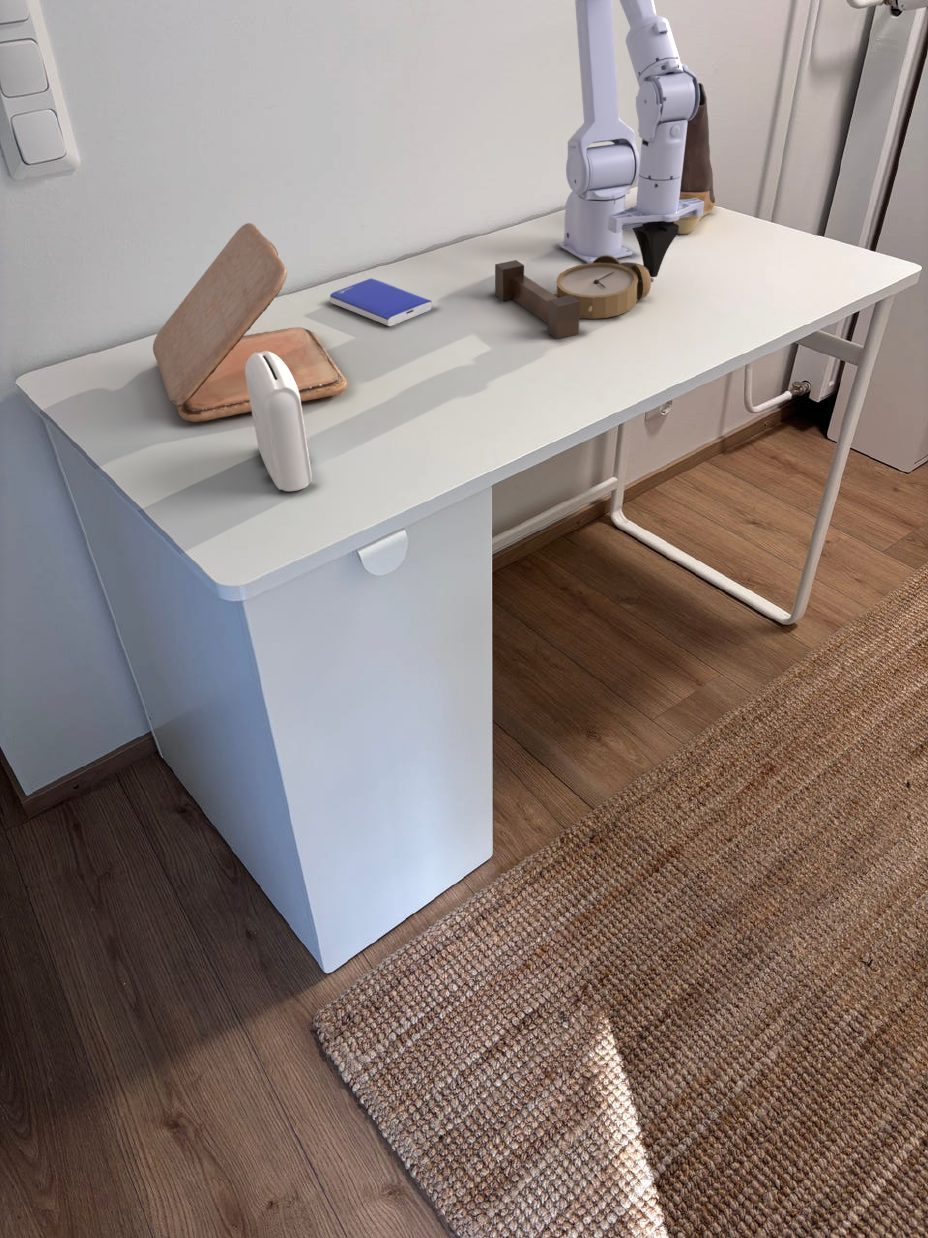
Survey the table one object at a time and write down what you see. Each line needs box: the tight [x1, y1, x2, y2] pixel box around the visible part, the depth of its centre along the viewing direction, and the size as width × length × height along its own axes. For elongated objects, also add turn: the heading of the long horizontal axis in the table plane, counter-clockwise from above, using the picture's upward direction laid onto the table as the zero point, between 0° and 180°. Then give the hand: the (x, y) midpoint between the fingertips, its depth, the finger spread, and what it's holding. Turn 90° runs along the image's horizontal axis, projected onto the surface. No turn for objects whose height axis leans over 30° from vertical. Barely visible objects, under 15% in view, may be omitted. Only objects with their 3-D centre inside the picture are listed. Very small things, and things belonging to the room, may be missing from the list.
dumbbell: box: [494, 259, 580, 340], centre depth 134 cm, size 17×4×4 cm, turn 26°
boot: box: [674, 82, 716, 235], centre depth 160 cm, size 9×24×20 cm, turn 168°
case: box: [152, 222, 348, 423], centre depth 117 cm, size 20×21×16 cm
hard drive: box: [329, 277, 432, 327], centre depth 138 cm, size 2×8×12 cm
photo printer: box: [245, 351, 313, 492], centre depth 101 cm, size 10×4×12 cm, turn 22°
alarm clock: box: [552, 255, 654, 320], centre depth 137 cm, size 11×5×15 cm
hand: (650, 274), depth 140 cm, fingers closed
